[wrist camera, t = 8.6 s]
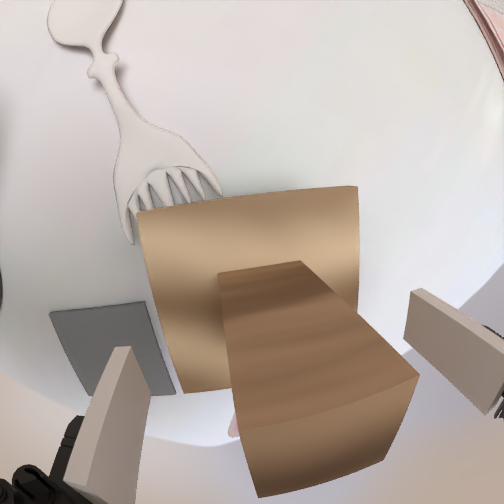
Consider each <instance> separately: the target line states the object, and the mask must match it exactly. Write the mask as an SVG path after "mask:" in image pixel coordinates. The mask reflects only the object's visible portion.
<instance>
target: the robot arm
mask: <svg viewBox="0 0 504 504" xmlns="http://www.w3.org/2000/svg"><path fill="white" fill-rule="evenodd" d="M1 299H2V285H1V276H0V306H1ZM403 339H404V340H405V341H406V342H407V343H408V344H410V345H411V346H412V347H413V348H414V349H415V350H416V351H417V352H418V353H420V354H421V355H422V356H423V357H424V358H425V359H426V360H427V361H428V362H429V363H430V364H432V365H433V366H434V367H435V368H436V369H437V370H438V371H439V372H440V373H441V374H442V375H443V376H445V377H446V378H447V379H448V380H449V381H450V382H451V383H452V384H453V385H454V386H455V387H456V388H457V389H458V390H460V392H461V393H462V394H463V395H464V396H466V397H467V398H468V399H469V400H470V401H471V402H472V403H473V404H474V405H475V406H476V407H477V408H478V409H479V410H480V411H481V412H482V413H483V414H484V415H486V414H487V413H488V412H489V411H490V410H491V409H493V408H494V407H495V405H496V404H497V402H498V400H499V398H500V397H501V396H503V397H504V337H503V338H502V337H501V335H499V334H498V333H495V331H493V330H492V329H490V328H489V327H487V326H484V325H481V324H479V323H478V322H476V321H474V320H473V319H471V318H470V317H468V316H467V315H465V314H464V313H462V312H460V311H459V310H457V309H456V308H454V307H452V306H451V305H449V304H447V303H446V302H444V301H443V300H441V299H439V298H438V297H436V296H434V295H433V294H431V293H429V292H428V291H426V290H424V289H422V288H420V289H417V290H414V291H411V292H410V300H409V308H408V314H407V321H406V327H405V332H404V338H403ZM150 398H151V391H150V389H149V387H148V385H147V383H146V380H145V378H144V376H143V374H142V371H141V369H140V367H139V364H138V362H137V360H136V357H135V355H134V352H133V350H132V347H131V346H123V347H115V348H114V350H113V352H112V354H111V357H110V359H109V361H108V363H107V365H106V367H105V370H104V372H103V374H102V376H101V379H100V381H99V383H98V386H97V388H96V390H95V393H94V395H93V397H92V400H91V402H90V405H89V407H88V410H87V412H86V415H85V416H78V415H77V416H76V417H75V418H74V419H73V420H72V421H71V422H70V423H69V425H68V427H67V429H66V432H65V434H64V438H63V439H62V442H61V447H59V449H58V452H57V455H56V458H55V460H54V463H53V466H52V469H51V472H50V475H49V477H48V476H47V475H46V474H44V473H43V472H42V471H41V470H40V469H39V468H37V467H36V466H34V465H30V464H28V465H23V466H21V467H19V468H18V469H17V470H16V471H15V473H14V474H13V478H12V485H11V484H9V482H7V481H6V480H5V479H0V504H135V499H136V488H137V480H138V472H139V464H140V457H141V450H142V444H143V437H144V431H145V425H146V420H147V414H148V409H149V403H150ZM501 410H502V412H501V414H500V416H499V418H503V419H504V399H503V401H502V402H501V404H500V406H499V407H498V409H497V411H496V412H495V415H494V418H497V416H498V415H499V413H500V411H501Z"/></svg>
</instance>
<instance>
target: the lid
mask: <svg viewBox="0 0 504 504" xmlns="http://www.w3.org/2000/svg"><path fill="white" fill-rule="evenodd" d="M136 218H137V224H138V229H139V235H140V240H141V245H142V250H143V255H144V260H145V264H146V269H147V273H148V277H149V281H150V286H151V290H152V294H153V297H154V301H155V305H156V309H157V312H158V316H159V320H160V323H161V326H162V330H163V333H164V337H165V340H166V343H167V346H168V349H169V352H170V355H171V359H172V362H173V364H174V367H175V370H176V373H177V376H178V379H179V382H180V384H181V387H182V390H183V392H184V394H185V393H196V392H205V391H214V390H221V389H229V388H232V393H233V400H234V407H235V413H236V420H237V426H238V432H239V435H240V439H241V442H242V446H243V450H244V453H245V457H246V460H247V463H248V467H249V470H250V473H251V477H252V480H253V483H254V486H255V489H256V493H257V496H258V498H262V497H268V496H273V495H278V494H283V493H288V492H292V491H296V490H300V489H304V488H308V487H312V486H315V485H318V484H322V483H325V482H328V481H331V480H334V479H337V478H340V477H343V476H346V475H349V474H351V473H354V472H357V471H359V470H361V469H364V468H366V467H369V466H371V465H373V464H376V463H378V462H380V461H382V460H384V458H385V456H386V454H387V452H388V450H389V448H390V446H391V444H392V442H393V440H394V438H395V436H396V434H397V432H398V430H399V427H400V425H401V423H402V421H403V418H404V416H405V414H406V411H407V409H408V406H409V404H410V401H411V398H412V396H413V393H414V390H415V387H416V384H417V382H418V379H419V376H420V374H419V373H418V372H417V371H416V370H415V369H414V368H413V367H412V366H411V365H410V364H409V363H408V362H407V361H406V360H405V359H404V358H403V357H402V356H401V355H400V354H399V353H398V352H397V351H396V350H395V349H394V348H393V347H392V346H391V345H390V344H389V343H388V342H387V341H386V340H385V339H384V338H383V337H382V336H381V335H379V334H378V333H377V332H376V331H375V330H374V329H373V328H372V327H371V326H370V325H369V324H368V323H367V322H366V321H365V320H364V319H363V318H362V317H361V316H360V315H359V314H358V313H357V308H358V290H359V251H360V241H359V202H358V186H337V187H323V188H310V189H299V190H288V191H278V192H269V193H260V194H251V195H243V196H235V197H227V198H219V199H212V200H205V201H198V202H192V203H185V204H179V205H173V206H167V207H161V208H155V209H150V210H144V211H140V212H138V213H136Z"/></svg>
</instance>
